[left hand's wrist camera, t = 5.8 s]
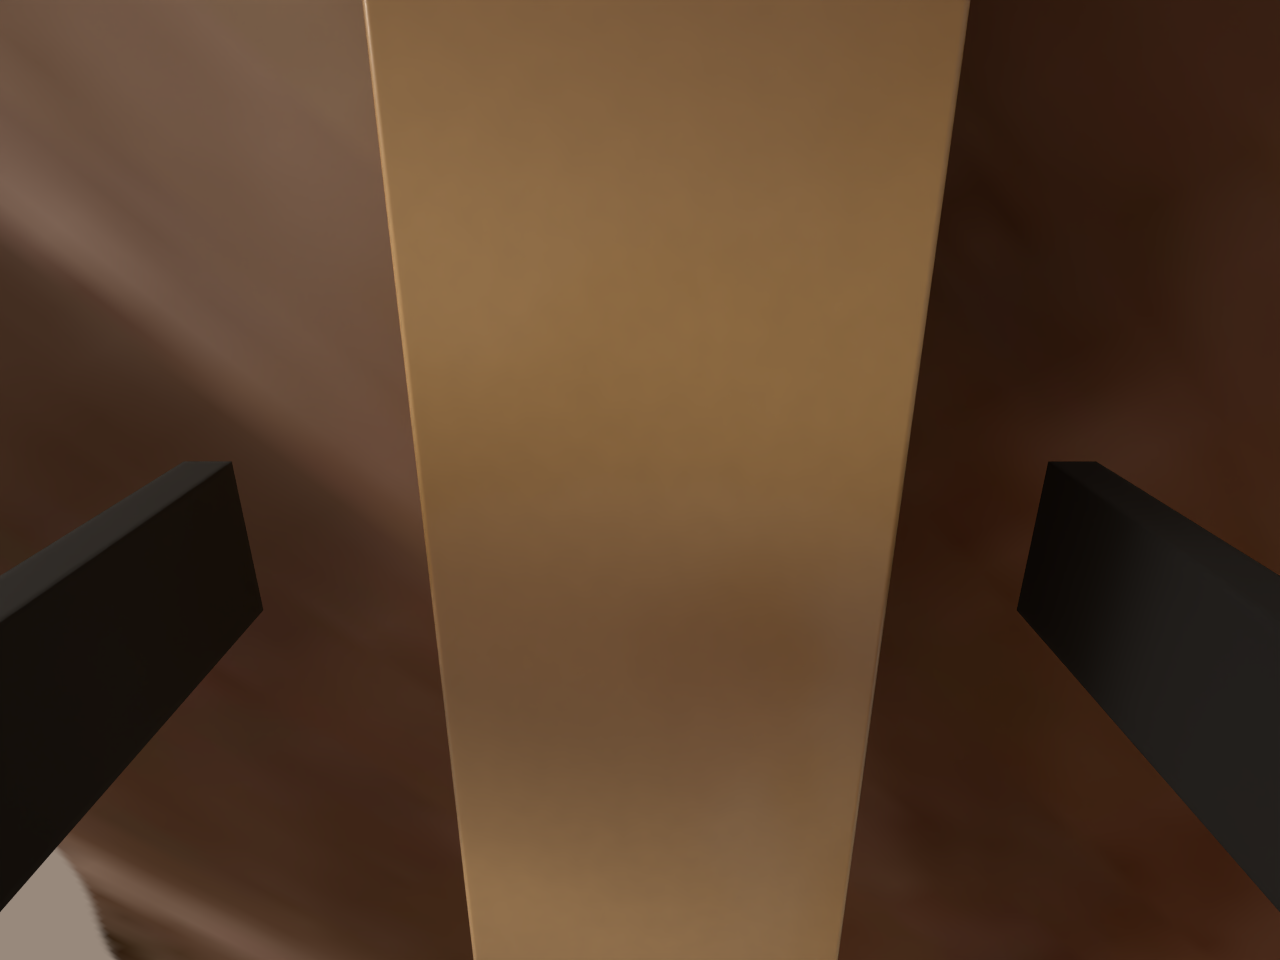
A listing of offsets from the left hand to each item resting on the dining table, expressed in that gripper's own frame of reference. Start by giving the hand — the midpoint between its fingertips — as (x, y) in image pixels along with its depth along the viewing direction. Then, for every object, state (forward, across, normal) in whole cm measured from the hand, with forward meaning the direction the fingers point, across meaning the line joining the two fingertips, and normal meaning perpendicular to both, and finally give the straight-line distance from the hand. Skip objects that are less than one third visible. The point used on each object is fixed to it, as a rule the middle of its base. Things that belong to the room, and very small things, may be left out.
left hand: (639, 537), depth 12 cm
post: (+4, 0, -20) cm, 21 cm away
